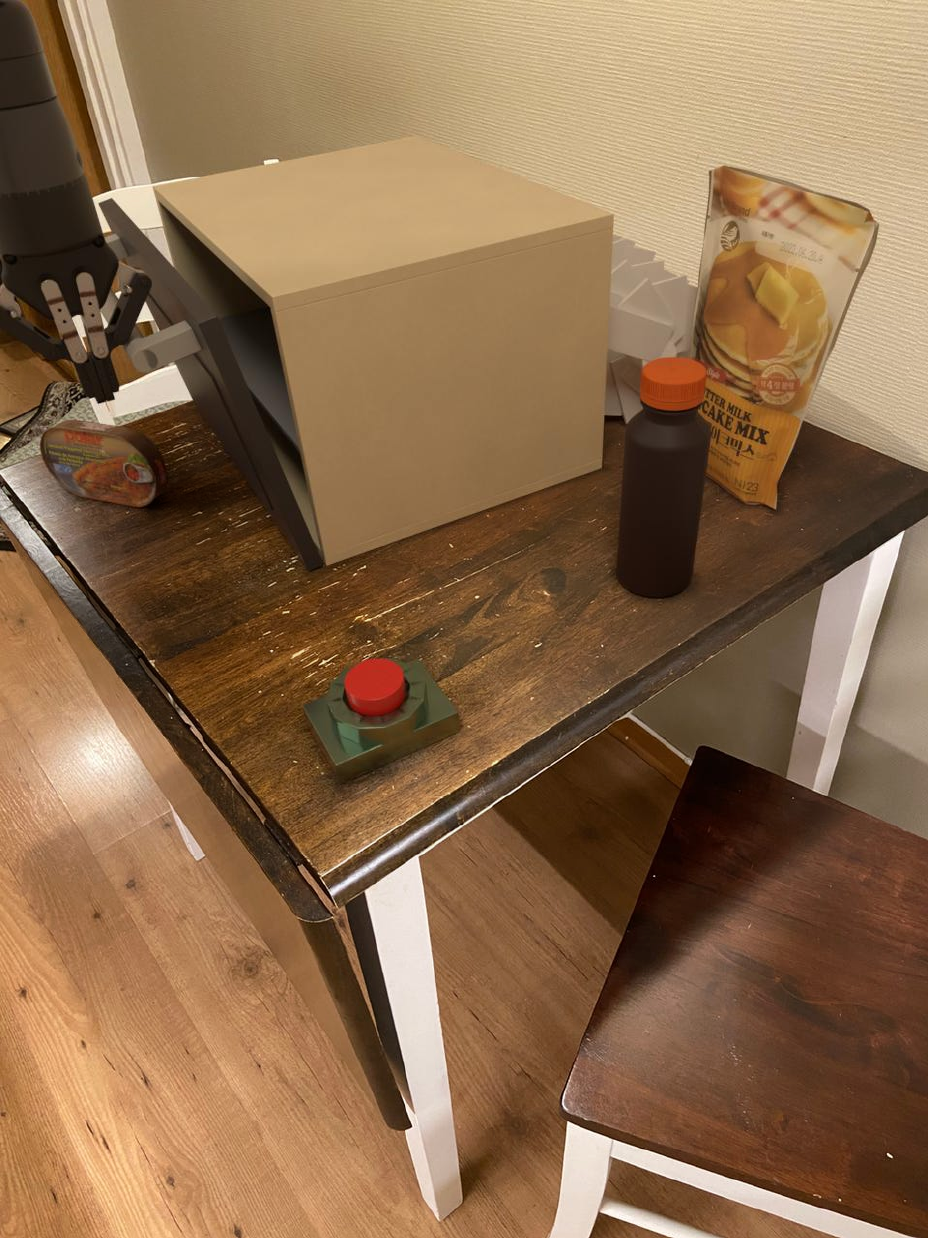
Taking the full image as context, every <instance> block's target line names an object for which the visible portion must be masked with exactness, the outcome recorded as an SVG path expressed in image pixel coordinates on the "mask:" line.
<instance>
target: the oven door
mask: <svg viewBox="0 0 928 1238" xmlns="http://www.w3.org/2000/svg"><path fill="white" fill-rule="evenodd" d="M97 205H98V206H99V209H100V211H101V213H102V215H103V217H104V220H105V221H106V223H107V225H108V227H109V230H110V231H111V233H112V234H110V235H108V236H104V238H105V240H106V242H107V244H108V246H109V247H110V248H111V249H112V250H113V251H114V252H115V254H116V255H117V257H118V261H120V262H121V261H122V260H125V262H126V263H125V264H126V265H128V266H130V267H132V268H134V267H140V268H142V269H143V270H144V272H145V273H146V274H147V275H148V276H149V278H150V279H151V281H152V287H151V289H150V291H149V294H148V296H147V298H146V301H145V304H146V306H147V309H148V310H149V312H150V315H151V317H152V318H153V320H154V322H155V323H154V324H155V325H156V326H157V329H158V331H157V332H154V333H152V334H150V335H147V336H145V335H144V334H143V333H142V331H141V330H140V328H139V327H138V325H137V323H136V324H135V326H134V329H133V331H132V333H131V336H130V338H129V340H128V342H127V343H126V344H125V345H120V347H121V348H122V349H123V351H124V353H125V355H126V356H127V358H128V359H129V361H130V362H131V364H132V365H133V367H134V369H135V370H136V371H138V372H140V373H142V374H149V373H152V372H155V371H156V370H158V369H161V368H163V367H166V366H169V365H171V364H172V363H174V364H175V366H176V368H177V371H178V372H179V374H180V376H181V379H182V381H183V383H184V385H185V387H186V389H187V391H188V393H189V395H190V398H191V400H192V401H193V403H194V406H195V409H196V410H197V411H198V413H199V414H200V416H201V417H202V419H203V420H204V421H205V423H206V424H207V426H208V427H209V429H210V430H211V431H212V433H213V434H214V436H215V438H216V439H217V440H218V442H219V443H220V445H221V447H223V449H224V451H225V452H226V454H227V455H228V457H229V458H230V459H231V461H232V462H233V464H234V465H235V467H236V468H237V470H238V471H239V473H240V474H241V476H242V477H243V478H244V480H245V481H246V483H247V484H248V486H249V487H250V488H251V490H252V492H253V493H254V494H255V496H256V497H257V499H258V500H259V502H260V503H261V505H262V506H263V508H264V510H265V511H266V512H267V514H268V515H269V516H270V518H271V520H272V521H273V522H274V524H275V525H276V526H277V528H278V529H279V531H280V532H281V534H282V535H283V536H284V538H285V539H286V541H287V543H288V544H289V545H290V547H291V548H292V550H293V551H294V553H295V554H296V556H297V557H298V558H299V560H300V562H301V563H302V564H303V566H304V568H305V569H306V570H307V571H308V572H312V571H313V570H315V569H318V568H320V567H321V566H323V565H324V561H323V560H322V558H321V557H320V555H319V553H318V550H317V548H316V546H315V543H314V541H313V539H312V536H311V534H310V532H309V529H308V527H307V525H306V522H305V520H304V518H303V515H302V513H301V511H300V508H299V506H298V504H297V501H296V499H295V497H294V494H293V492H292V490H291V487H290V485H289V482H288V480H287V478H286V475H285V473H284V471H283V468H282V466H281V464H280V461H279V459H278V457H277V454H276V452H275V450H274V447H273V445H272V443H271V440H270V438H269V436H268V433H267V431H266V429H265V426H264V424H263V422H262V419H261V417H260V415H259V412H258V410H257V408H256V405H255V403H254V400H253V398H252V396H251V393H250V391H249V389H248V386H247V384H246V382H245V379H244V377H243V375H242V372H241V370H240V368H239V365H238V363H237V361H236V358H235V356H234V354H233V351H232V349H231V347H230V344H229V342H228V340H227V337H226V335H225V333H224V330H223V328H222V326H221V323H220V321H219V318H218V316H217V315H216V314H215V313H214V312H213V310H212V309H211V308H210V307H209V306H208V305H207V304H206V303H205V302H204V300H203V299H202V298H201V297H200V296H199V295H198V294H197V293H196V291H195V290H194V289H193V288H192V287H191V286H190V285H189V284H188V283H187V281H186V280H185V279H184V278H183V277H182V276H181V275H180V274H179V272H178V271H177V270H176V269H175V268H174V265H172V263H170V261H169V260H168V258H166V257H165V256H164V254H162V252H161V251H160V250H159V249H158V247H156V245H155V244H154V243H153V242H152V241H151V240H150V239H149V237H147V235H146V234H145V233H144V232H143V230H141V228H139V226H138V225H137V224H136V223H135V222H134V221H133V220H132V218H130V217H129V215H128V214H127V213H126V212H125V211H124V210H123V208H122V207H121V206H120V205H119V204H118V203H117V201H116V200H114V198H113V197H110V198H108V199H106V200H103V201H100V202H98V204H97ZM118 299H119V297H118V296H117V294H116V293H115V291H114V290H113V288H111V290H110V292H109V295H108V298H107V300H106V303H105V305H104V306H103V307H102V308H101V309H100V312H101V316H102V318H103V319H104V320H105V322H106V323H107V324H108V323H109V321H110V318H111V316H112V314H113V311H114V309H115V307H116V304H117V302H118Z"/></svg>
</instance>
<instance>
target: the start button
mask: <svg viewBox="0 0 928 1238" xmlns="http://www.w3.org/2000/svg"><path fill="white" fill-rule="evenodd" d="M368 659H369V660H367V659H365V660H366V661H364V660H362V661H363V662H362V661H359V662H360V663H359V662H357V663H358V664H357V663H356V664H357V665H355V666H354V667H353V668H351V669H350V671H349V672H348V673H347V675H346V677H345V682H344V684H345V690H346V694H347V699H348V703H349V705H350V707H351V708H352V709H353V710H354V711H356V712H357V713H359V714H362V715H365V716H381V715H385V714H388V713H390V712H392V711H394V710H396V709H397V708H398V707H399V706H400V705H401V704H402V703H403V701H404V699H405V697H406V686H405V680H404V673H403V671H402V669H401V668H400V666H399V665H397V664H396V663H394V662H393V661H390V660H387V659H374V658H368Z"/></svg>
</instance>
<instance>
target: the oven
mask: <svg viewBox="0 0 928 1238" xmlns="http://www.w3.org/2000/svg"><path fill="white" fill-rule="evenodd" d="M152 190H153V195H154V197H155V202H156V205H157V210H158V212H159V216H160V220H161V223H162V227H163V231H164V235H165V238H166V243H167V246H168V249H169V253H170V257H171V261H172V264H173V265H172V266H173V267H174V268H175V269H176V270H177V271H178V272H179V274H180V275H181V276H182V277H183V278H184V279H185V280H186V281H187V283H188V284H189V285H190V286H191V287H192V288H193V289H194V290H195V291H196V293H197V294H198V295H199V296H200V297H201V298H202V299H203V300H204V302H205V303H206V304H207V305H208V306H209V307H210V308H211V309H212V310H213V312H214V313H215V314H216V315H217V316H218V318H219V321H220V323H221V326H222V328H223V330H224V333H225V335H226V337H227V340H228V342H229V344H230V347H231V349H232V351H233V354H234V356H235V358H236V361H237V363H238V365H239V368H240V370H241V372H242V375H243V377H244V379H245V382H246V384H247V386H248V389H249V391H250V393H251V396H252V398H253V400H254V403H255V405H256V408H257V410H258V412H259V415H260V417H261V419H262V422H263V424H264V426H265V429H266V431H267V433H268V436H269V438H270V440H271V443H272V445H273V447H274V450H275V452H276V454H277V457H278V459H279V461H280V464H281V466H282V468H283V471H284V473H285V475H286V478H287V480H288V482H289V485H290V487H291V490H292V492H293V494H294V497H295V499H296V501H297V504H298V506H299V508H300V511H301V513H302V515H303V518H304V520H305V522H306V525H307V527H308V529H309V532H310V534H311V536H312V539H313V541H314V543H315V546H316V548H317V550H318V553H319V555H320V557H321V560H322V562H323V564H325V566H327V567H328V566H330V565H333V564H336V563H339V562H341V561H344V560H347V559H350V558H353V557H356V556H359V555H361V554H365V553H367V552H371V551H373V550H375V549H378V548H381V547H384V546H387V545H389V544H392V543H395V542H399V541H400V540H404V539H406V538H409V537H412V536H415V535H417V534H420V533H422V532H426V531H429V530H432V529H434V528H438V527H440V526H443V525H446V524H449V523H451V522H454V521H457V520H460V519H462V518H465V517H469V516H472V515H474V514H477V513H479V512H483V511H485V510H488V509H491V508H495V507H497V506H499V505H503V504H506V503H508V502H511V501H513V500H516V499H519V498H522V497H524V496H525V497H526V496H527V495H530V494H533V493H536V492H540V491H541V490H544V489H547V488H551V487H552V486H556V485H558V484H562V483H564V482H568V481H570V480H572V479H575V478H579V477H581V476H584V475H586V474H590V473H592V472H595V471H598V470H601V469H603V453H604V431H605V415H604V412H605V391H606V370H607V349H608V327H609V306H610V285H611V264H612V242H613V234H614V218H615V213H612V212H610V211H607V210H605V209H602V208H599V207H597V206H594V205H592V204H589V203H587V202H585V201H583V200H580V199H577V198H574V197H572V196H570V195H567V194H565V193H562V192H560V191H557V190H554V189H552V188H550V187H546V186H544V185H542V184H540V183H537V182H535V181H533V180H529V179H527V178H525V177H522V176H519V175H517V174H515V173H512V172H509V171H506V170H504V169H502V168H499V167H497V166H495V165H493V164H489V163H487V162H484V161H482V160H480V159H477V158H474V157H471V156H469V155H467V154H464V153H461V152H459V151H456V150H454V149H451V148H449V147H446V146H444V145H442V144H439V143H436V142H434V141H431V140H429V139H427V138H424V137H421V136H419V135H413V136H408V137H403V138H402V137H401V138H398V139H397V138H396V139H392V140H387V141H381V142H377V143H372V144H367V145H361V146H355V147H351V148H344V149H340V150H334V151H329V152H325V153H319V154H313V155H310V156H309V155H308V156H303V157H299V158H294V159H293V158H292V159H288V160H287V159H286V160H282V161H276V162H272V163H267V164H262V165H256V166H251V167H246V168H241V169H240V168H239V169H236V170H235V169H234V170H230V171H224V172H220V173H214V174H208V175H205V176H198V177H194V178H193V177H192V178H188V179H183V180H178V181H172V182H168V183H163V184H157V185H152Z"/></svg>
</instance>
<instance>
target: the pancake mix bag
mask: <svg viewBox="0 0 928 1238" xmlns="http://www.w3.org/2000/svg"><path fill="white" fill-rule="evenodd" d="M707 197H708V198H707V205H706V214H705V219H704V220H705V221H704V229H703V242H702V249H701V256H700V262H699V267H698V268H699V269H698V277H697V281H698V282H697V287H698V288H697V294H696V299H695V306H694V313H693V333H692V345H691V360H694V361H696V362H698V363H700V364H702V365H703V366H704V368H705V369H706V370H707V377H706V384H705V393H704V399H703V401H702V402H703V403H702V405H701V407H700V409H698V412H699V414H700V415H701V416H702V417H703V418H704V419H705V420H706V421H707V423H708V424H709V425H710V429H711V441H710V449H709V456H708V463H707V471H706V476H707V478H709V479H710V480H712V481H713V482H714V483H716V484H718V485H719V486H720V487H721V488H723V489H724V490H725V491H726V492H727V493H728V494H730V495H731V496H733V497H734V498H736V499H737V500H738V501H740V502H742V503H744V504H745V505H764V506H766V507H769V508H771V509H774V510H777V505H778V504H777V503H778V498H779V493H778V483H779V480H780V478H781V476H782V473H783V471H784V468H785V466H786V464H787V462H788V460H789V457H790V455H791V454H792V451H793V449H794V447H795V444H796V441H797V439H798V436H799V434H800V430H801V428H802V424H803V421H804V419H805V416H806V414H807V412H808V409H809V407H810V404H811V403H812V400H813V397H814V394H815V392H816V390H817V387H818V385H819V383H820V381H821V379H822V376H823V373H824V370H825V367H826V365H827V361H828V360H829V358H830V356H831V354H832V352H833V350H834V348H835V347H836V343H837V341H838V338H839V335H840V332H841V329H842V327H843V324H844V321H845V318H846V316H847V313H848V310H849V309H850V305H851V303H852V302H853V301H852V300H853V297H854V295H855V293H856V291H857V288H858V287H859V285H860V282H861V279H862V277H863V275H864V273H865V271H866V269H867V267H868V265H869V264H870V261H871V258H872V255H873V253H874V250H875V247H876V244H877V240H878V234H879V230H880V223H879V222H878V221H877V220H875V219H874V217H873V215H872V213H871V211H870V210H871V209H869V208H867V207H866V206H864V205H862V204H860V203H858V202H855V201H853V200H848V199H844V198H840V197H838V196H834V195H830V194H827V193H822V192H819V191H814V190H813V189H809V188H807V187H804V186H801V185H799V184H796V183H794V182H791V181H788V180H785V179H781V178H778V177H774V176H770V175H767V174H762V173H758V172H755V171H752V170H748V169H742V168H740V167H739V168H738V167H733V166H728V165H721V166H719V167H716V168H714V169H711V170H708V195H707Z"/></svg>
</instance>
